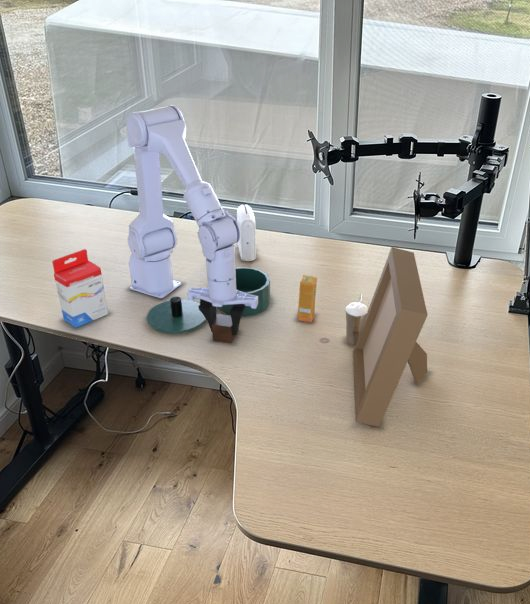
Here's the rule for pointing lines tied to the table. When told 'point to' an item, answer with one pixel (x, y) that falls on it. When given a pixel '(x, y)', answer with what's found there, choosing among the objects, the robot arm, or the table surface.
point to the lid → (176, 316)
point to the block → (222, 329)
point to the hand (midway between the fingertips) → (224, 331)
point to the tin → (251, 289)
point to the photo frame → (389, 337)
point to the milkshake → (355, 320)
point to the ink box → (79, 289)
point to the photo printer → (246, 233)
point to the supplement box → (307, 298)
